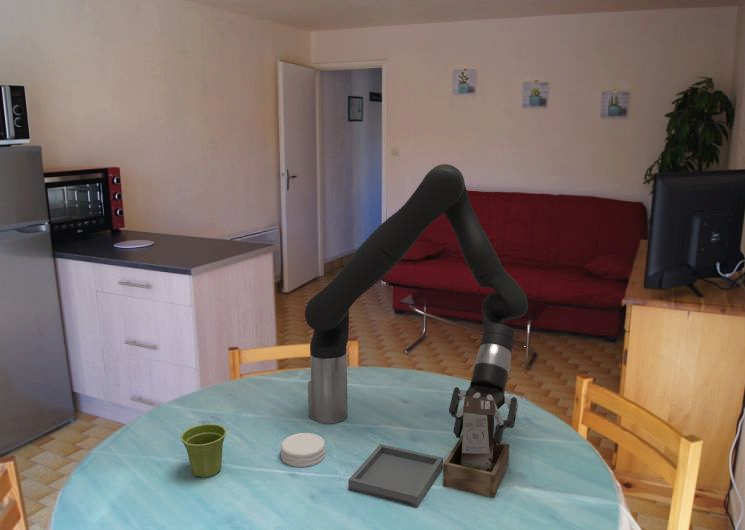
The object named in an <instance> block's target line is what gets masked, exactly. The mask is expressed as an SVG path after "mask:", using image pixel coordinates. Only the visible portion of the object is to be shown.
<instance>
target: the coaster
mask: <svg viewBox="0 0 745 530" xmlns="http://www.w3.org/2000/svg"><path fill="white" fill-rule="evenodd" d="M325 441H326V440H325V439H324V438H323V437H321V436H320V435H319V434H317V433H316V434H315V433H312V432H301V433H294V434H291V435H289V436H287V437H285V439H283V440H282V441H281V443H280V457H281V460H282V462H284V463H285V464H286V465H288V466H291V467H296V468H305V467H307V468H308V467H311V466H312V467H313V466H315V465H317V464H319V463H320V462H322V461H323V460H324V459H325V457H326V442H325Z"/></svg>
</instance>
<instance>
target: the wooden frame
mask: <svg viewBox="0 0 745 530" xmlns="http://www.w3.org/2000/svg"><path fill="white" fill-rule="evenodd" d="M509 460H510V443H507V442H503V441H502V442H501V443H500V444H498V446H494V445H493V460H492V465H493V464H494V467H493V468H492V472H488V471H483V470H479V469H474V468H470V467H465V466H461V463H462V435H461V437H460V438H458V439H457V442H456V444H455V445H454V447H453V448H452V450H451V452H450V453H449V454H448V456H447V458H446V459H445V460H444V461H443V468H442V486H443V487H447V488H451V489H454V490H460V491H462V492H463V491H464V492H468V493H472V494H475V495H480V496H484V497H488V498H492V499H495V497H496V494H497V491H498V489H499V487H500V485H501V483H502V480H503V479H504V475H505V473H506V471H507V470H508V467H509V465H510V464H509Z"/></svg>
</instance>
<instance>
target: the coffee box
mask: <svg viewBox="0 0 745 530" xmlns="http://www.w3.org/2000/svg"><path fill="white" fill-rule="evenodd" d="M463 400H464V401H463V406H464V408H463V407H462V408H463V428H462V432H461V436H462V462H461V463H460V465H461V466H465V467H470V468H474V469H479V470H483V471H488V472H492V471H493V463H492V460H493V438H494V433H495V416H494V401H492V400H487V397H480V398H473V396H465V397H464V398H463Z"/></svg>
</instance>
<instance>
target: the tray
mask: <svg viewBox="0 0 745 530" xmlns="http://www.w3.org/2000/svg"><path fill="white" fill-rule="evenodd" d="M443 464H444V457H441V456H437V455H433V454H432V455H431V454H428V453H423V452H417V451H413V450H409V449H404V448H399V447H397V446H391V445H387V444H383V443H379V444H378V445H377V447H376V448H375V449H374V450H373V451H372V453H371V454H369V456H368V457H367V458H366V459H365V460H364V462H363V463H362V464H361V465H360V466H359V467H358V468H357V469H356V470H355V472H354V473H353V474H352V475H351V476H350V477H349V478H348V490H349V491H352V492H355V493H360V494H364V495H368V496H371V497H375V498H379V499H382V500H383V499H384V500H385V501H386V500H387V501H391V502H394V503H399V504H403V505H407V506H410V507H414V508H418V507H419V506H420V504H421V503H422V501H423V500H424V498H425V496H426V495H427V494H428V492H429V490H430V489H431V487H432V486H433V484H434V482H435V481H436V479H437V477H438V476H439V474H440V473H441V471H443Z"/></svg>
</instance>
